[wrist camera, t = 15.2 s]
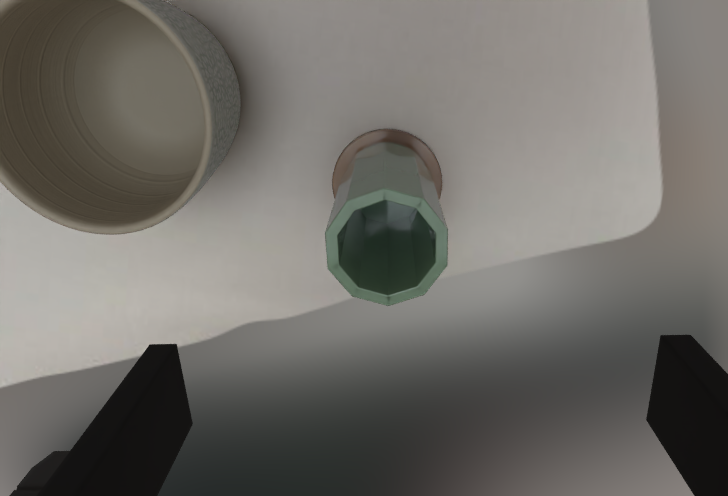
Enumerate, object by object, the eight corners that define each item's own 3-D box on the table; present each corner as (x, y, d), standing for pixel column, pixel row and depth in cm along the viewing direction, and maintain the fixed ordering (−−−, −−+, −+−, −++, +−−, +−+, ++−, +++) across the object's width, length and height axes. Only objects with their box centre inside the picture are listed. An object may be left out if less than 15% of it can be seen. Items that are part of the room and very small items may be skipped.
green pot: (430, 138, 38) (448, 185, 26) (430, 226, 40) (447, 305, 29) (340, 141, 38) (321, 190, 27) (346, 229, 40) (330, 307, 29)
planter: (222, -34, 35) (155, -58, 25) (282, 159, 39) (246, 206, 29) (43, 20, 36) (-90, 18, 26) (119, 199, 41) (30, 257, 30)
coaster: (441, 126, 38) (442, 127, 37) (441, 232, 41) (441, 234, 40) (329, 130, 38) (328, 132, 38) (336, 235, 41) (335, 238, 41)
